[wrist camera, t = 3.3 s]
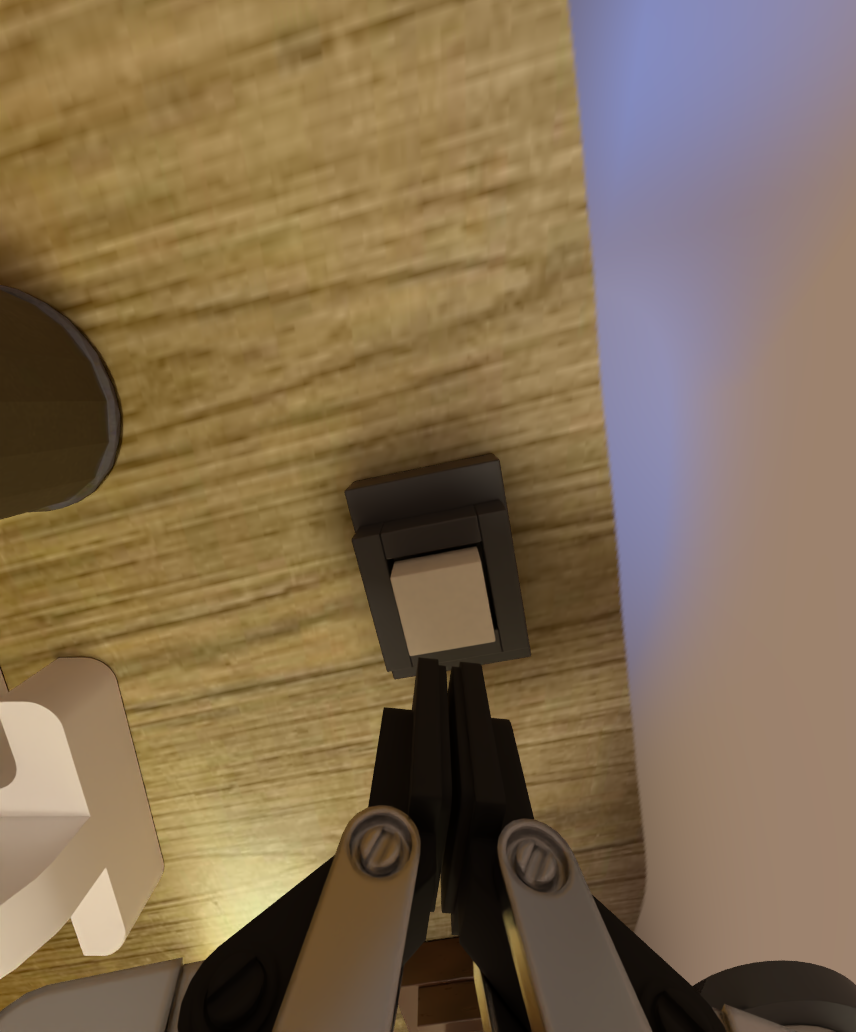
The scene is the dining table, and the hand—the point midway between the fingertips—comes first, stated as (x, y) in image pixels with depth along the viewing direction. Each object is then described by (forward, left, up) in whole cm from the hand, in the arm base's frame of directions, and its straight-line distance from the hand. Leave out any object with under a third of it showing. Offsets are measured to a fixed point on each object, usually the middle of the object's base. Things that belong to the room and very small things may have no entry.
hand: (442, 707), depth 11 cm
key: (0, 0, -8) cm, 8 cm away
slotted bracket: (+21, +18, -11) cm, 30 cm away
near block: (0, 0, -11) cm, 11 cm away
